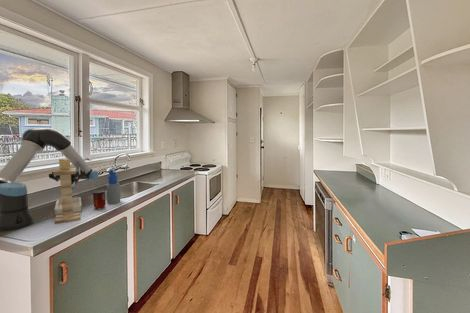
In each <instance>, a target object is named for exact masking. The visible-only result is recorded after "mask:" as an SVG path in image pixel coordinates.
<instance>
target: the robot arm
mask: <svg viewBox="0 0 470 313" xmlns="http://www.w3.org/2000/svg"><path fill="white" fill-rule="evenodd" d="M21 137H22V138H21V139H22V140H21V141H20V142H21V146H20V147H19V148H18V150H17V151H15V153H14V154H13V156H12V157H11V158H10V159H9V160H8V162H7V163H6V164H5V165H4V166H3V168H2V169H1V170H0V231H11V230H17V229H21V228H25V227H28V226H30V225H31V224H33V223H34V217H33V215H32V213H31V211H30V208H29V202H28V201H29V199H28V198H29V197H28V189H27V188H28V187H27V185H26V184H25V183H23V182H16V181H17V180H18V179H19V177H20V176H21V175H22V173H23V172H24V171H25V170H26V168H27V167H28V165H29V164H30V163H31V161H32V160H33V159H34V157H35V156H36V155H37V153H40V152H42V151H43V150H45V147H51V148H54V149H55V151H57V152H60V153H61V154H62V155H63V156H64V157H65V159H70V165H72V166H73V168H76V174H71V185H72V192H73V191H74V190H75V189H76V186H77V184H78V183H79V180H88V181H95V180H97V179H98V178H99V175H100V174H99V173H100V172H99V171H98V170H96V169H95V170H94V169H93V168H92V167H90V165H89V164H88V162H86V161H85V159H83V157H82V155H81V154H79V153H78V151H77V150H76V148H74V146H73V145H72V142H71V141H70V139H69V138H68V137H67V136H66V135H64V134H63V133H62V132H60V131H59V130H57V129H55V128H51V127H50V128H48V127H47V128H44V127H43V128H41V127H39V128H38V127H33V128H28V129H26V130H24V131H23V133H22V135H21ZM55 169H56V168H53V169H52V171H51V173H48V178H49V179H51V180H55V181H56V182H59V181H60V175H56V176H54V170H55Z"/></svg>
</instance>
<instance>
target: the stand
mask: <svg viewBox="0 0 470 313" xmlns="http://www.w3.org/2000/svg"><path fill="white" fill-rule="evenodd" d="M70 168H71V169H70V170H60V168H54V169H55V170H54V176H56V175H60V180H59V181H60V183H59V184H60V197H61V199H62V215H56V216H55V219H54V224H55V225H58V224H63V223H64V222H65V223H69V222H74V221H75V222H77V221H80V220H81V219H82V218H81V212H75V213H73V201H72V198H73V191H72V185H71V174H76V168H74V167H70Z"/></svg>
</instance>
